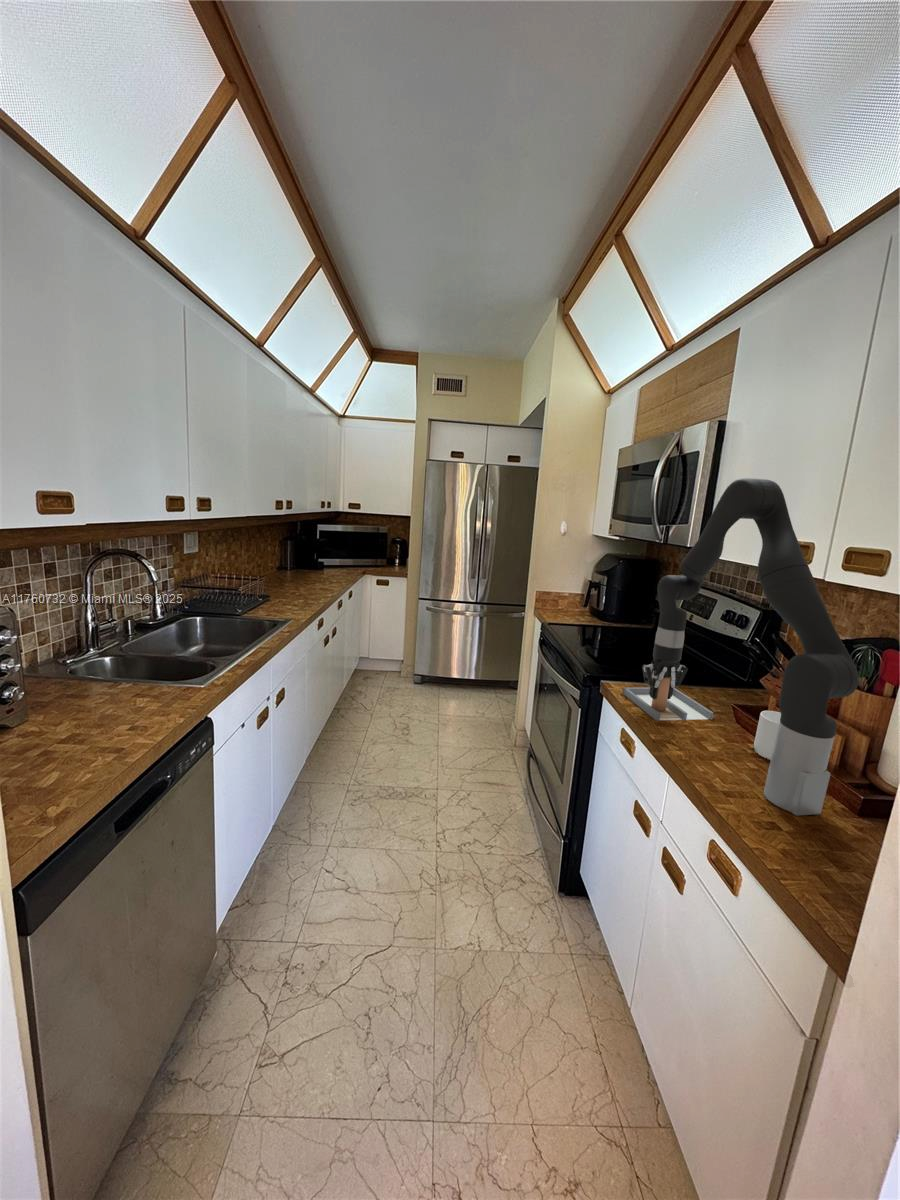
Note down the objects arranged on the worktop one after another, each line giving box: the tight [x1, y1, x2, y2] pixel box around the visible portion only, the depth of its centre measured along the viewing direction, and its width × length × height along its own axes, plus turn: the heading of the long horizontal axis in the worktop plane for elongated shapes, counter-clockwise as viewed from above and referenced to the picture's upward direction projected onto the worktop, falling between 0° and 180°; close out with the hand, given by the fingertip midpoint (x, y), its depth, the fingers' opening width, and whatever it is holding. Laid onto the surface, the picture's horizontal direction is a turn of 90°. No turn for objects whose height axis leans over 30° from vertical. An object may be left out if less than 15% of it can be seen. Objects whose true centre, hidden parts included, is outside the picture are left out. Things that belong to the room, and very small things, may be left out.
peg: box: [651, 675, 671, 711], centre depth 139 cm, size 4×4×10 cm
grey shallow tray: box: [621, 686, 714, 721], centre depth 144 cm, size 19×18×3 cm
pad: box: [656, 708, 679, 718], centre depth 138 cm, size 6×6×1 cm
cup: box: [753, 710, 781, 761], centre depth 121 cm, size 8×12×10 cm
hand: (660, 697), depth 140 cm, fingers closed on peg, 4 cm apart
